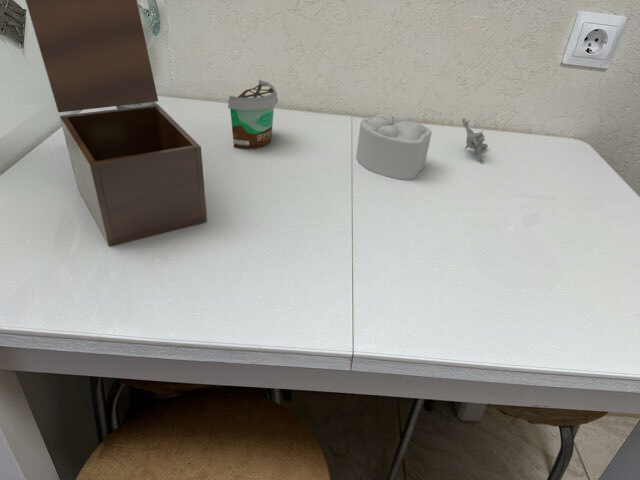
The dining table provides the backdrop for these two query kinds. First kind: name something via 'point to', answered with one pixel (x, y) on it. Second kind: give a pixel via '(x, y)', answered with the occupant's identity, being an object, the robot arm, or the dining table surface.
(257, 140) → the food container
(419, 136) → the lumpy-topped squat cylinder
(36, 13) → the lid
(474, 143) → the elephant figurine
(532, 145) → the dining table surface
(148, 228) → the chest
